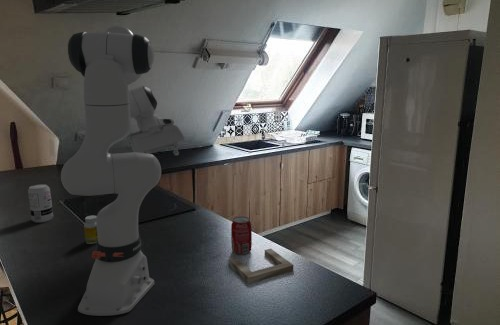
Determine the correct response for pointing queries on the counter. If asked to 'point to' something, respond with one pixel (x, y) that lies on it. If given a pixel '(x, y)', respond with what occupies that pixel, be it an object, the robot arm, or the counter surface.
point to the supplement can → (40, 203)
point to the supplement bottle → (90, 230)
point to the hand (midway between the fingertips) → (165, 158)
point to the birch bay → (250, 277)
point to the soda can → (241, 235)
